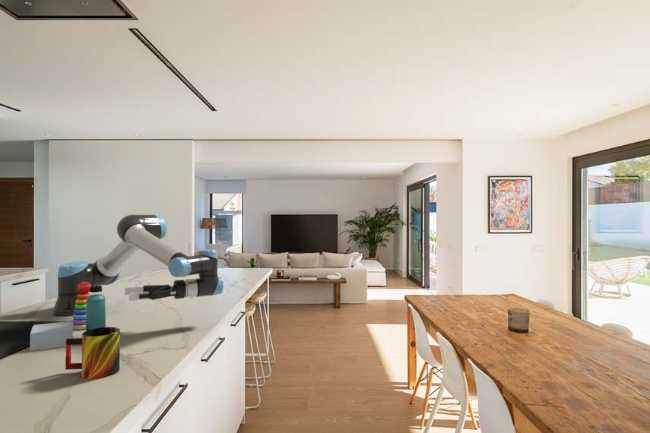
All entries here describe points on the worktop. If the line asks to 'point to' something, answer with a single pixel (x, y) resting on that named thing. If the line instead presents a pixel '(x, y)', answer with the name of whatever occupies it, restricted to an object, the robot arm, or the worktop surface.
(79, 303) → the stacking toy
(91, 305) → the beverage bottle
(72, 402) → the worktop surface
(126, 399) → the worktop surface
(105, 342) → the mug
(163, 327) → the worktop surface
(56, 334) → the block
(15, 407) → the worktop surface
